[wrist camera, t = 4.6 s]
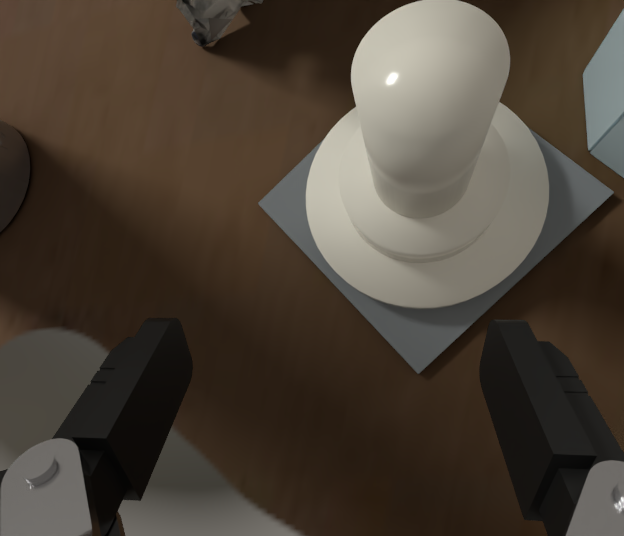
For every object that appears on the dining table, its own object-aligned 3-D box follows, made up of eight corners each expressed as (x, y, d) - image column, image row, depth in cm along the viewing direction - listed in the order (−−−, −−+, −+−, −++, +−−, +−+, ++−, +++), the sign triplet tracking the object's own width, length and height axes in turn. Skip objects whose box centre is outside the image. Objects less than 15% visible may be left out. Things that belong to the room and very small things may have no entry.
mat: (418, 373, 20) (418, 374, 19) (260, 205, 23) (257, 203, 23) (609, 195, 19) (614, 192, 19) (419, 50, 22) (419, 45, 22)
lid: (418, 358, 19) (426, 372, 9) (270, 202, 22) (162, 93, 13) (596, 193, 19) (797, 29, 9) (419, 57, 22) (427, -174, 12)
